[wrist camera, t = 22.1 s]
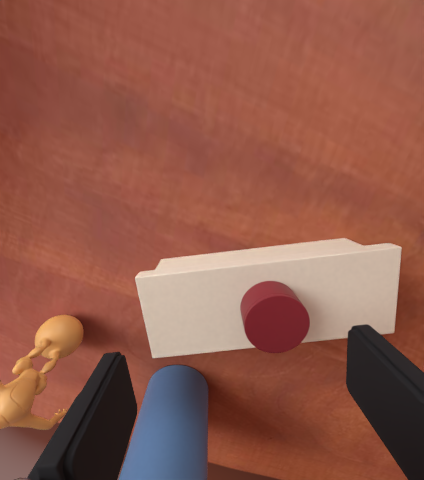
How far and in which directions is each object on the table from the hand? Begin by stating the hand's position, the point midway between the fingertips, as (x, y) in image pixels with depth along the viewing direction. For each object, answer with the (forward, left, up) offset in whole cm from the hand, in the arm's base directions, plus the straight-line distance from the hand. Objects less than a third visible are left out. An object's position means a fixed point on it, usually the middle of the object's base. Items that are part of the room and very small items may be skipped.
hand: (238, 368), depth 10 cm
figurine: (-16, +3, -14) cm, 22 cm away
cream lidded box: (+2, -3, -14) cm, 14 cm away
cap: (+2, -3, -6) cm, 7 cm away
